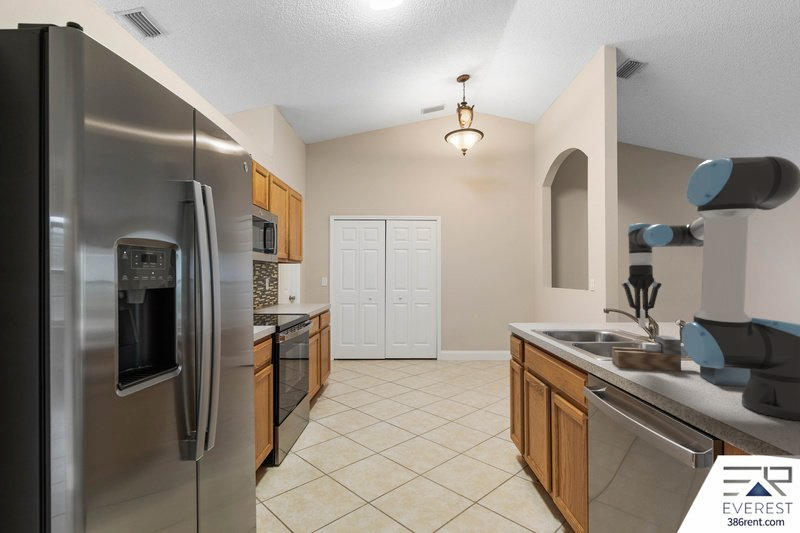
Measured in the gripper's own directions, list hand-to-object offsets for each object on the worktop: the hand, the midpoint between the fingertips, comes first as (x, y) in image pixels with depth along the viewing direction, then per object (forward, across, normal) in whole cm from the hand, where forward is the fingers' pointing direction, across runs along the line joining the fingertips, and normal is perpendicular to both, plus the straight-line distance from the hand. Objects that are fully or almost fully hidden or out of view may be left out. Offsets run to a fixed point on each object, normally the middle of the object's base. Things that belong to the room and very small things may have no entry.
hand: (642, 327), depth 142 cm
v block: (+15, -19, +15) cm, 29 cm away
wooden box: (+15, -1, -1) cm, 15 cm away
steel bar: (+10, -9, -1) cm, 13 cm away
